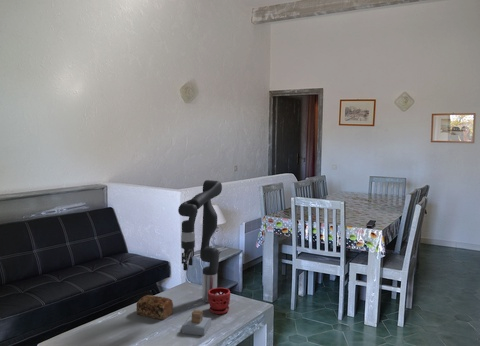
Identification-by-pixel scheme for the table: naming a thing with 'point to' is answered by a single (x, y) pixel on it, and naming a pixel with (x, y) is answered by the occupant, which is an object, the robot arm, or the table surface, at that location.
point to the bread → (155, 307)
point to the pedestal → (196, 326)
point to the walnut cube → (197, 316)
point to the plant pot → (219, 300)
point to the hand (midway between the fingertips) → (188, 267)
